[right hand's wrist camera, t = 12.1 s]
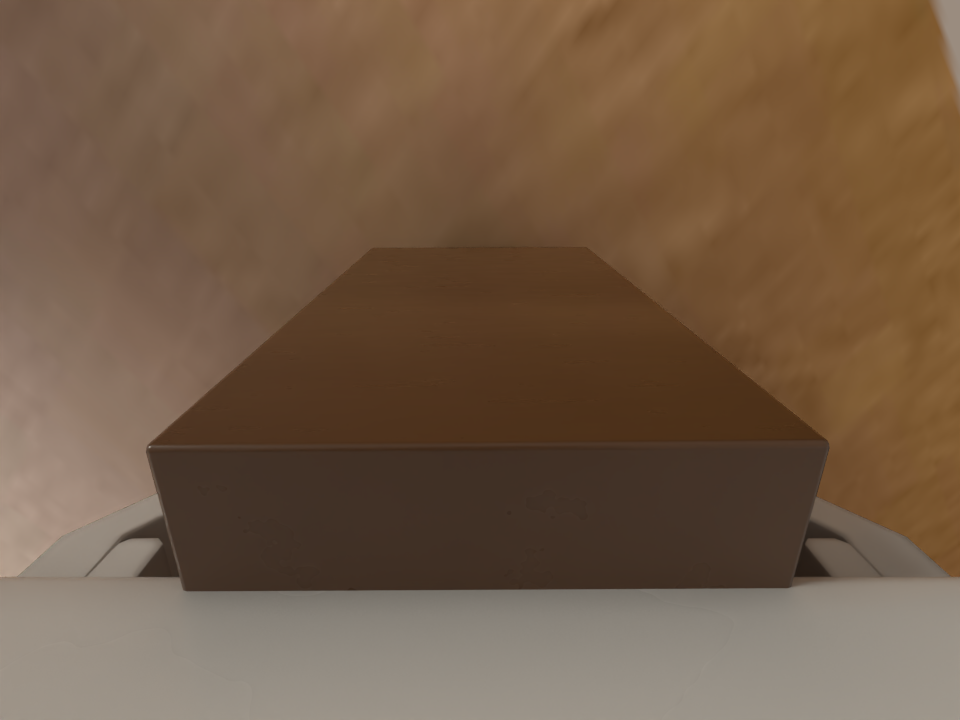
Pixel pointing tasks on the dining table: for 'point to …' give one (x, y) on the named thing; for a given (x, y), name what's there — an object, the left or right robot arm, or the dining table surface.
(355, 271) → the box
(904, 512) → the dining table surface
